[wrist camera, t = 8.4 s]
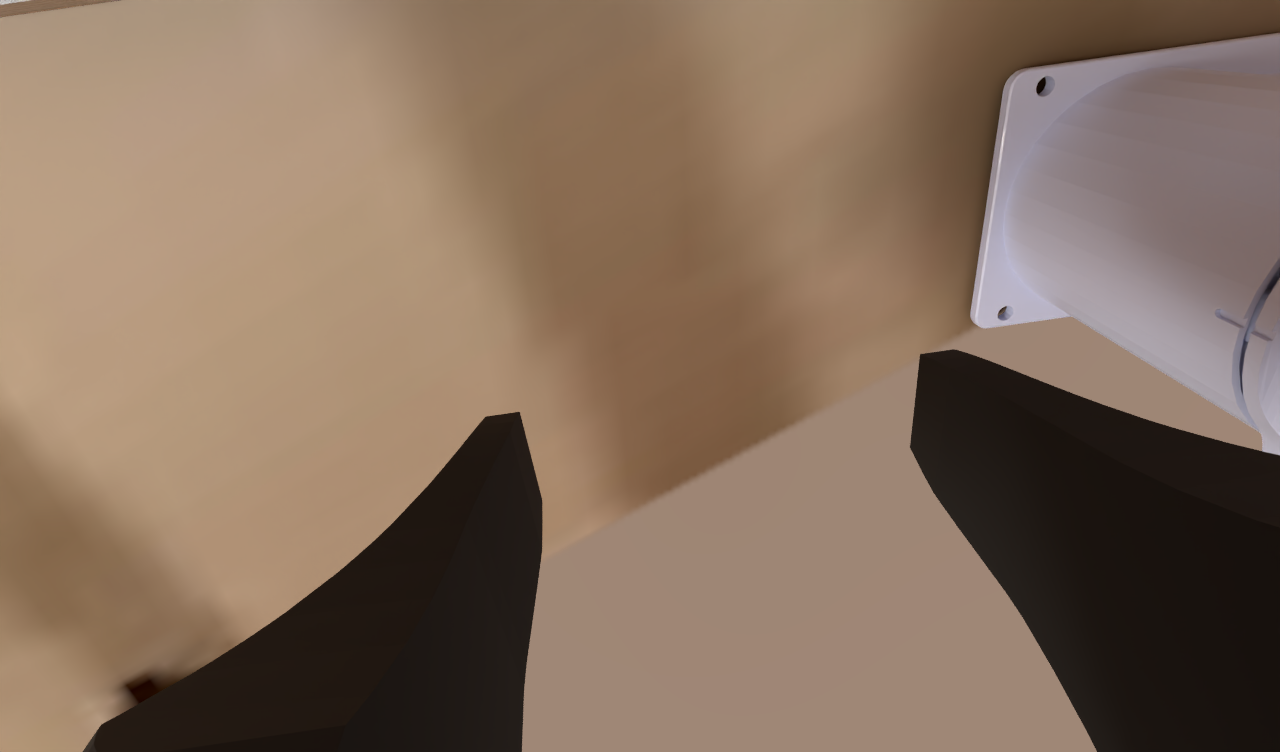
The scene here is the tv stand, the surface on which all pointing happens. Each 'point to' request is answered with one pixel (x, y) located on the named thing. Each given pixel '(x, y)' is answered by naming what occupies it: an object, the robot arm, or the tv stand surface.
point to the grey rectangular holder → (40, 5)
